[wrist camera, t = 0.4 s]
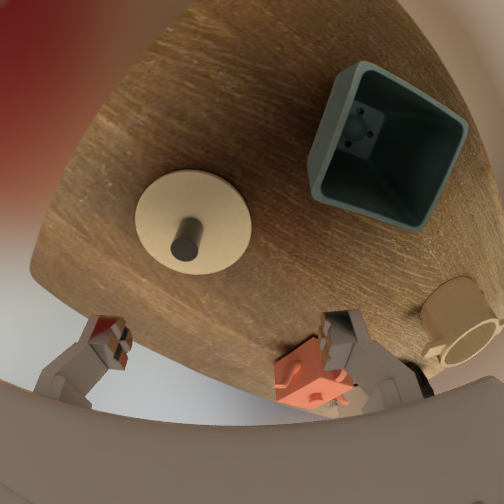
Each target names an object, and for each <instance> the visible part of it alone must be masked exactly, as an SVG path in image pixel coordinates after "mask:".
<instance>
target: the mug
mask: <svg viewBox="0 0 504 504" xmlns="http://www.w3.org/2000/svg"><path fill="white" fill-rule="evenodd" d="M343 396H344V398H345V399H346V400H347V401H348V402H349V404H347V405H344V404H341V403H339V402H338V401H337V405H338V412H339V418H343V417H349V416H355V415H360V414H362V411H361V409H362V408H363V407H364V405H365V404H366V402H367V401H368V399H369V398H370V397H369V396H368V395H367V394H366V393H365V392H364V391H363V390H362V389H361V388H360V387H359V385H358V384H355V385H354V388H352V389H350V390H349V391H347V392H345V393H343Z"/></svg>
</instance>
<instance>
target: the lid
mask: <svg viewBox="0 0 504 504" xmlns="http://www.w3.org/2000/svg"><path fill="white" fill-rule="evenodd" d="M135 224H136V230H137V233H138V236H139V238H140V241H141V242H142V244H143V246H144V247H145V249H146V250H147V251H148V252H149V254H150V255H151V256H152V257H154V258H155V259H156V260H157V261H158V262H160V263H161V264H163V265H165V266H166V267H168V268H170V269H173V270H175V271H179V272H182V273H187V274H196V275H197V274H210V273H214V272H218V271H220V270H223V269H225V268H227V267H229V266H230V265H232V264H233V263H234V262H236V261H237V260H238V259H239V258H240V257H241V256H242V254H243V253H244V251H245V250H246V248H247V246H248V244H249V241H250V237H251V230H252V225H251V216H250V212H249V209H248V206H247V204H246V202H245V200H244V199H243V197H242V196H241V194H240V193H239V192H238V191H237V190H236V189H235V188H234V187H233V186H232V185H231V184H230V183H228V182H227V181H225V180H224V179H222V178H221V177H218V176H216V175H214V174H211V173H208V172H205V171H199V170H179V171H174V172H171V173H168V174H165V175H163V176H161V177H160V178H158V179H157V180H155V181H154V182H153V183H152V184H151V185H150V186H149V187H148V188H147V189H146V190H145V192H144V193H143V194H142V196H141V198H140V200H139V202H138V205H137V208H136V213H135Z"/></svg>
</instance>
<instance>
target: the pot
mask: <svg viewBox="0 0 504 504" xmlns="http://www.w3.org/2000/svg"><path fill="white" fill-rule="evenodd" d="M420 318H421V321H422V325H423V327H424V329H425V331H426V333H427V335H428V337H429V340H430V342H429V343H427V344H426V346H425V348H424V349H423V351H422V353H421V354H422V357H423V359H425V358H429V357H433V356H436V355H437V358H438V360H439V362H440V364H441V365H442V366H443V367H453V366H456V365H459V364H461V363H463V362H465V361H467V360H469V359H470V358H472V357H473V356H475V355H476V354H477V353H479V352H480V351H481V350H482V349H483V348H484V347H485V346H486V345H487V344H488V343H489V342H490V341H491V340H492V339H493V337H494V336H495V335H497V334H499V333H500V332H501V330H502V329H503V327H504V320H503V319H502V320H500V321H499V320H498V318H497V317H496V315H495V313H494V312H493V310H492V309H491V307H490V305H489V304H488V302H487V301H486V299H485V298H484V296H483V295H482V293H481V292H480V290H479V289H478V288H477V286H476V285H475V283H474V282H473V281H472V280H471V279H470V278H468V277H457V278H454V279H452V280H450V281H448V282H446V283H444V284H443V285H441V286H440V287H439V288H438V289H436V290H435V291H434V292H433V293H432V294H431V295H430V297H429V298H428V299H427V300H426V302H425V303H424V305H423V307H422V310H421V313H420Z"/></svg>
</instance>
